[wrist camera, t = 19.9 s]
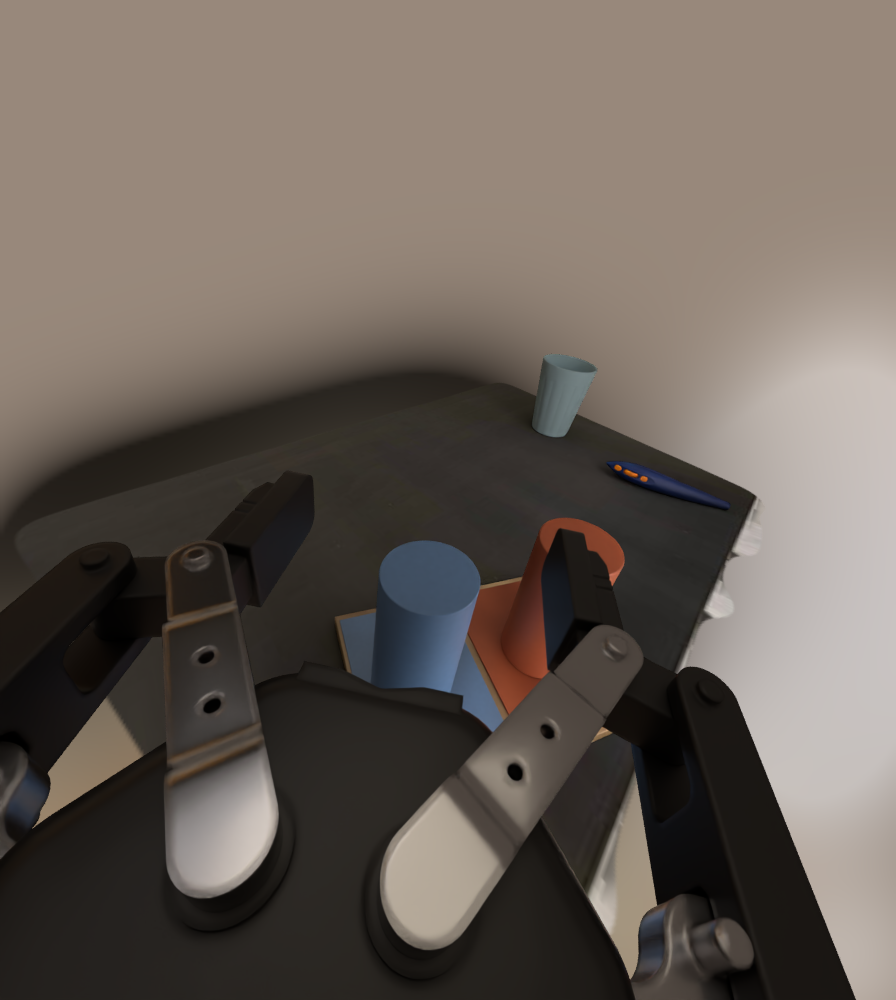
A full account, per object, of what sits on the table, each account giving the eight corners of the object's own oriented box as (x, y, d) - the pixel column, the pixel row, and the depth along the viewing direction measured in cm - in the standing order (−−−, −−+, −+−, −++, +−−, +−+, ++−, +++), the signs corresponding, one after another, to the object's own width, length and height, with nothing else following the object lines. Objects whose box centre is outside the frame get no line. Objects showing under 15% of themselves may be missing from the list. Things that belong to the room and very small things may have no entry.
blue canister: (382, 738, 23) (395, 627, 17) (362, 661, 27) (368, 547, 21) (462, 710, 25) (498, 603, 19) (433, 642, 29) (456, 534, 23)
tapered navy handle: (719, 510, 54) (729, 493, 53) (727, 520, 51) (738, 503, 50) (602, 467, 57) (609, 451, 56) (603, 474, 54) (611, 457, 53)
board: (380, 833, 21) (382, 826, 20) (334, 625, 30) (334, 615, 29) (632, 725, 27) (639, 716, 27) (530, 582, 37) (533, 572, 36)
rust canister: (523, 688, 27) (572, 583, 21) (489, 626, 31) (523, 522, 25) (583, 668, 29) (643, 566, 23) (544, 612, 33) (588, 512, 27)
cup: (575, 445, 61) (601, 376, 55) (524, 434, 61) (544, 364, 55) (571, 424, 67) (594, 360, 61) (525, 415, 68) (543, 350, 62)
